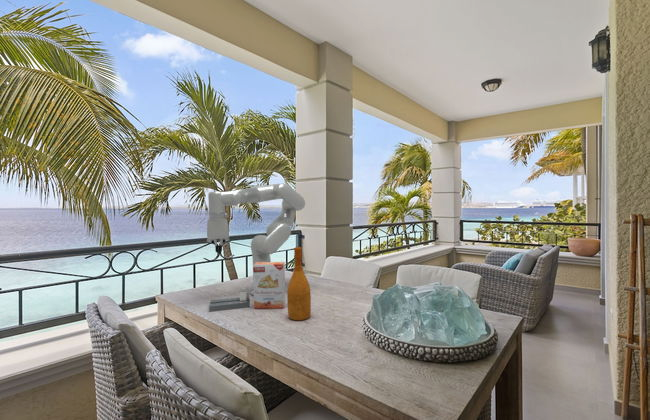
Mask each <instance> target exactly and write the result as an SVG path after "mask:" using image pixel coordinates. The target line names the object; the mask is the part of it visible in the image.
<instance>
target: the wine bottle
mask: <svg viewBox="0 0 650 420" xmlns="http://www.w3.org/2000/svg"><path fill="white" fill-rule="evenodd" d="M293 251H294V255H293V258H294V267H293V270H292V271H293V272H292V275H291V277H290V280H289V283H288V287H287V296H286V297H287V300H286V301H287V315H288V318H289V319H291V320H293V321H304V320H307V319H309V318H310V317H311V311H312V310H311V309H312V308H311V303H312V302H311V298H312V296H311V295H312V294H311V287H310V286H311V285H310V284H309V281H308V279H307V276H306V274H305V271H304V269H303V264H302V258H303V254H302V253H303V249H302V247H301V246H296V247H294V249H293Z"/></svg>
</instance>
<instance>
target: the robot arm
mask: <svg viewBox="0 0 650 420" xmlns="http://www.w3.org/2000/svg"><path fill="white" fill-rule="evenodd" d="M207 198H208V218H209V219H207V222H206V242H207V243H211V244H213V246H215V250H214V251H215V253H216V254H221V253H222V252H223V248H222V247H223V244H225V242H228V241H229V242H230V233H229V224H228V223H229V222H228V219H227V218H226V217H229V213H226V206H227V207H231V206H237V205H241V204H255V203H263V202H267V201H268V202H270V201H275V200H276V201H277V200H282V201H281V207H282V208H281V209H282V210H281V213H280V214H279V215H278V217H276V219H275V220H273V221H272V222H271V223H270V224H269V225H268V226H267V227H266V230H265V232H266V235H265V234H264V235H263V234H259V235H256V236H254V237H252V239H251V242H250V249H251V256H252V266H253V265H254V264H255V263H256V262H272V261H271V255H273V254H274V253H276V252H277V251H278V250H279V249H280V248H281V247H282V246H283V245H284V244H285V243H286V242H287V241H288V240H289V238H290V236H291V234H292V229H291V225H292V224H293V223H294V221H295V217H296V212H297V211H302V210H303V209H304V208H305V206H306V200H305V197H303V196H302V195H301V194H300V193H298V192H297V191H296V190H295V189H293V188H292V187H291V186H289V185H288V184H287V183H284V182H283V183H275V184H267V185H259V186H258V185H257V186H252V187H248V188H243V189H237V190H227V191H215V190H214V191H210V192H208V197H207ZM218 240H219V244H218V242H217V241H218ZM252 280H253V279H252ZM252 282H253V283H252V285H253V289H252V290H251V291H250V296H252V297H254V280H253V281H252Z"/></svg>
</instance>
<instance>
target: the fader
mask: <svg viewBox="0 0 650 420" xmlns="http://www.w3.org/2000/svg"><path fill="white" fill-rule="evenodd" d="M238 290H239V292H238V293H239V295H238V297H239V298H240V301H244V300H246V293H247V288H246V287H245V288H244V287H243V288H239V289H238Z"/></svg>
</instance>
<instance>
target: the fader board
mask: <svg viewBox="0 0 650 420" xmlns="http://www.w3.org/2000/svg"><path fill="white" fill-rule="evenodd" d="M245 308H251V298H250V293H249V292H246V300H244V301H240V298H239V296H238V297H228V298H219V299H210V301H209V309H208V311H209V312H211V313H212V312H219V311H227V310H229V311H230V310H237V309H245Z"/></svg>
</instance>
